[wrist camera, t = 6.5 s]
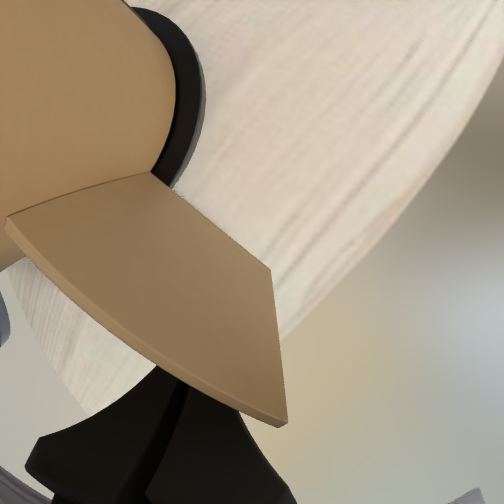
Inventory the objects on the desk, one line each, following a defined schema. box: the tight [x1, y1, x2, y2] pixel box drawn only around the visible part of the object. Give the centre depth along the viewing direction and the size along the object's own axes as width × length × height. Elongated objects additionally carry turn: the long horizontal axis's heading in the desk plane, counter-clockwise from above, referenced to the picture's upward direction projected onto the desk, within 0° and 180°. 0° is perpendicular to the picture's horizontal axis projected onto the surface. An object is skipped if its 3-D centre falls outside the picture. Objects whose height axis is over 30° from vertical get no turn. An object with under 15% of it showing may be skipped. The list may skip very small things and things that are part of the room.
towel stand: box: [131, 7, 206, 189], centre depth 10 cm, size 12×12×1 cm
